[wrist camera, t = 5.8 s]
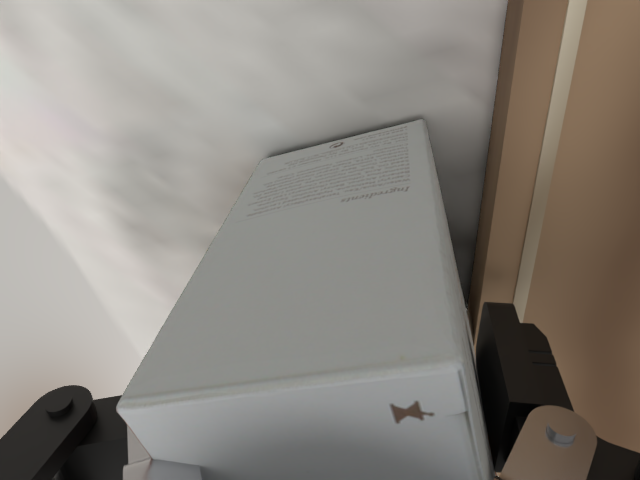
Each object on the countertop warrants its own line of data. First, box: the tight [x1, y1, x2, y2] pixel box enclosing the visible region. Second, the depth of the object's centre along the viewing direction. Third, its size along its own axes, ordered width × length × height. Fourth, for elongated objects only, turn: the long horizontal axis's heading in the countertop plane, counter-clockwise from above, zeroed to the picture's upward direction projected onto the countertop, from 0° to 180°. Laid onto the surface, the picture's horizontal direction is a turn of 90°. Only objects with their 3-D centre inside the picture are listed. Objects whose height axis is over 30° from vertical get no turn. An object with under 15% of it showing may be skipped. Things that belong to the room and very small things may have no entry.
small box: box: [116, 119, 497, 480], centre depth 13 cm, size 8×6×10 cm
